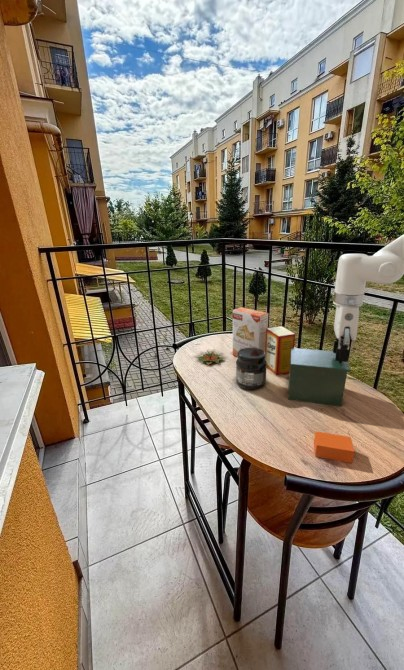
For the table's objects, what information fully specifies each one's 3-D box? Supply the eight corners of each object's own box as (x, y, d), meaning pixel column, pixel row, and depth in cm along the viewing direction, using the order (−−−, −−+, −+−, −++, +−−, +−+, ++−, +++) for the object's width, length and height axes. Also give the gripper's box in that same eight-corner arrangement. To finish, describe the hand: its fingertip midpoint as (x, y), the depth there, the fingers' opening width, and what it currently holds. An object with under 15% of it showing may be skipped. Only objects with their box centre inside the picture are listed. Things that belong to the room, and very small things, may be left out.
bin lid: (343, 354, 91) (345, 338, 90) (350, 372, 80) (353, 355, 78) (291, 350, 96) (292, 335, 94) (290, 366, 85) (291, 350, 83)
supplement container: (256, 374, 106) (257, 344, 101) (271, 387, 96) (273, 355, 92) (230, 379, 102) (230, 349, 98) (244, 394, 93) (245, 361, 89)
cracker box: (231, 355, 122) (231, 309, 114) (240, 351, 125) (241, 306, 118) (257, 366, 112) (259, 315, 104) (266, 361, 115) (269, 312, 108)
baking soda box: (264, 364, 112) (266, 327, 107) (279, 362, 114) (281, 325, 108) (276, 375, 104) (278, 335, 98) (292, 372, 105) (295, 333, 100)
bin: (336, 385, 96) (340, 354, 92) (341, 406, 85) (347, 372, 80) (288, 380, 100) (291, 350, 96) (287, 399, 89) (290, 366, 85)
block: (348, 447, 69) (350, 436, 68) (352, 463, 64) (354, 451, 63) (313, 442, 71) (315, 431, 70) (315, 456, 67) (316, 445, 66)
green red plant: (191, 358, 120) (190, 349, 119) (213, 351, 126) (213, 342, 125) (206, 369, 111) (206, 358, 109) (230, 360, 117) (230, 350, 115)
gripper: (370, 307, 71) (358, 371, 77) (356, 293, 86) (348, 347, 92) (337, 306, 73) (329, 368, 79) (330, 292, 88) (323, 345, 95)
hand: (339, 356), depth 86 cm, fingers closed on bin lid, 5 cm apart
